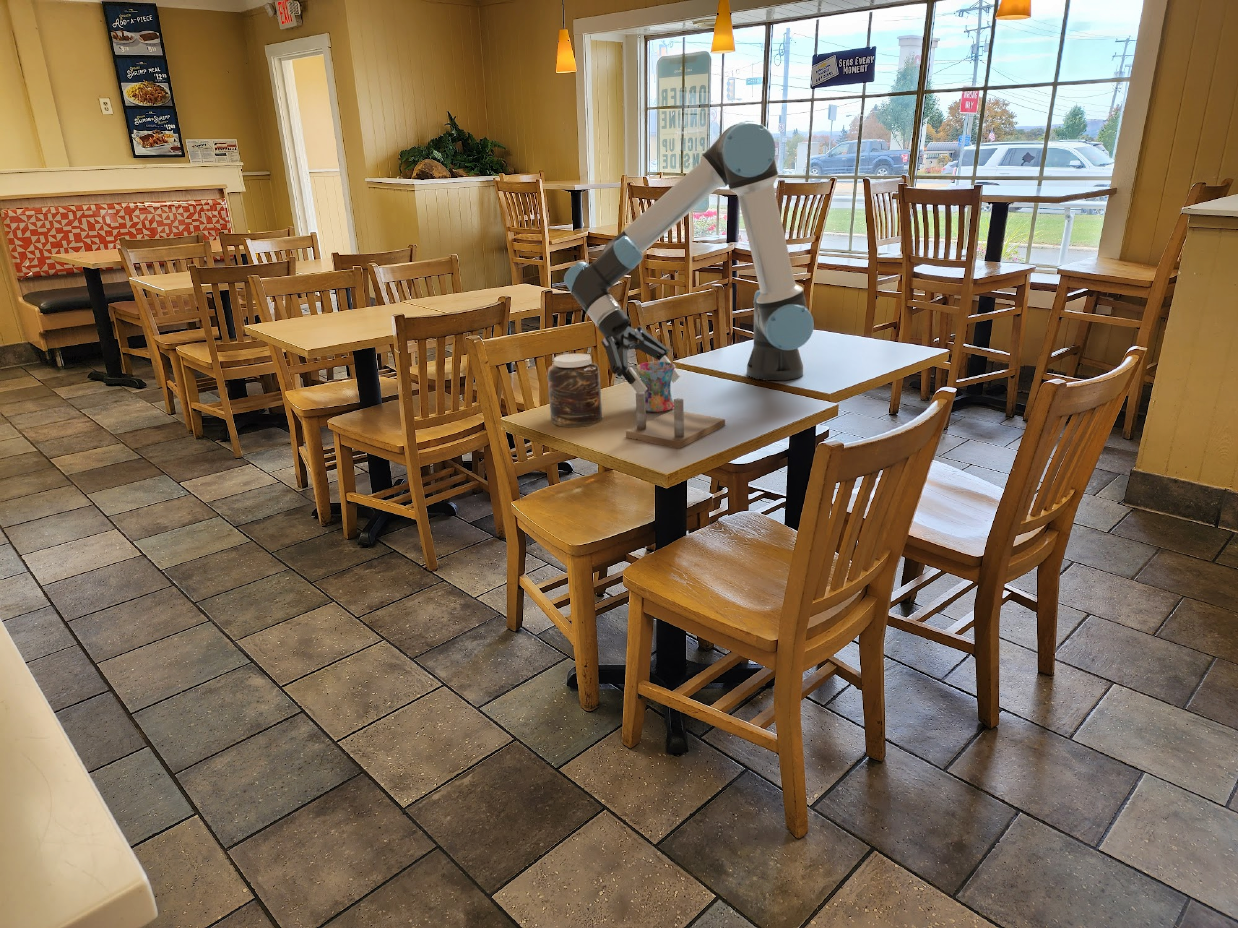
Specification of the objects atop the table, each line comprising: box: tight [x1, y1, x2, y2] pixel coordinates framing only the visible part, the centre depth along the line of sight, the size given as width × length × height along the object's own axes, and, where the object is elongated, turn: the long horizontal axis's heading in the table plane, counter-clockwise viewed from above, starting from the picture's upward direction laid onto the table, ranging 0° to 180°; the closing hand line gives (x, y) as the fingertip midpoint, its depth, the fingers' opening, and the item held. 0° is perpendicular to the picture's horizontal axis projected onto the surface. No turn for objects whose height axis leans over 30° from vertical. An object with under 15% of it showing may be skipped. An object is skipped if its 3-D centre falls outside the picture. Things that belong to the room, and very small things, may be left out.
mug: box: [635, 361, 676, 413], centre depth 195 cm, size 12×9×11 cm
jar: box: [547, 353, 603, 428], centre depth 187 cm, size 12×12×15 cm
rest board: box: [625, 392, 726, 449], centre depth 177 cm, size 18×14×10 cm
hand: (660, 386), depth 194 cm, fingers open, 13 cm apart
